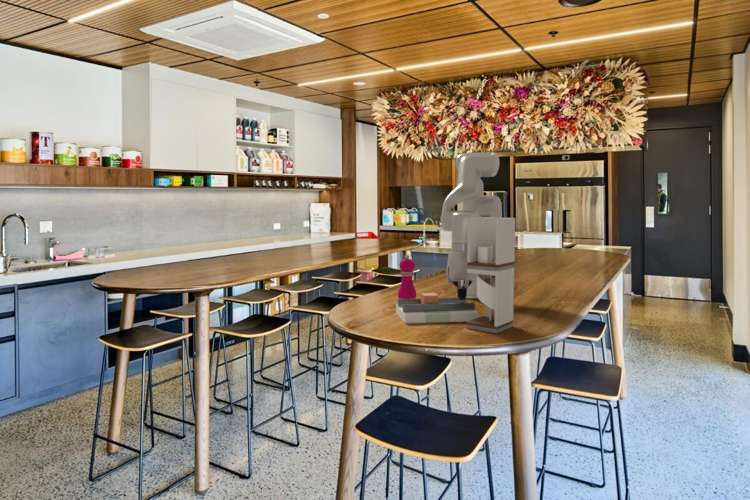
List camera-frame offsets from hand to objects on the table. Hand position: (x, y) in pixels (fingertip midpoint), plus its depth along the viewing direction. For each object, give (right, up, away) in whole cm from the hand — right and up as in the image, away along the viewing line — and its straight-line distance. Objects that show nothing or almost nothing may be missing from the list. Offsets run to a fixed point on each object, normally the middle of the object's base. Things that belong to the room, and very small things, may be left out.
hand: (461, 299), depth 188 cm
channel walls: (-10, -3, -2) cm, 10 cm away
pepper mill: (-18, -5, +17) cm, 25 cm away
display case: (+6, -8, -17) cm, 20 cm away
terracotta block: (-12, -3, -2) cm, 12 cm away
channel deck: (-10, -6, -1) cm, 11 cm away
